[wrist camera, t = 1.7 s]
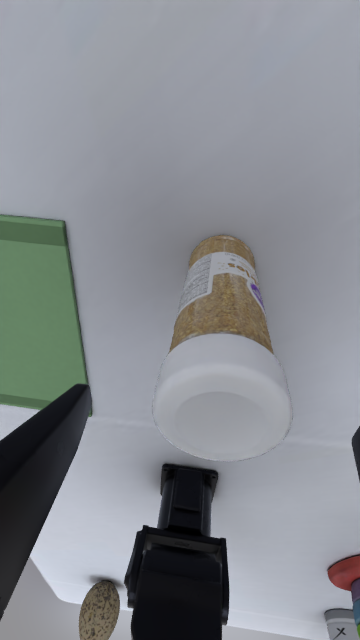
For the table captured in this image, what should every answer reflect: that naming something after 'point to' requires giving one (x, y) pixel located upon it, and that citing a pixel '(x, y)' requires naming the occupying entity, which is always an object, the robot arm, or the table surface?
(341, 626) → the travel mug
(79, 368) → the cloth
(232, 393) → the sprinkles bottle
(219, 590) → the robot arm
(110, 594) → the decorative egg
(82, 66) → the table surface
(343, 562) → the stacking bear
